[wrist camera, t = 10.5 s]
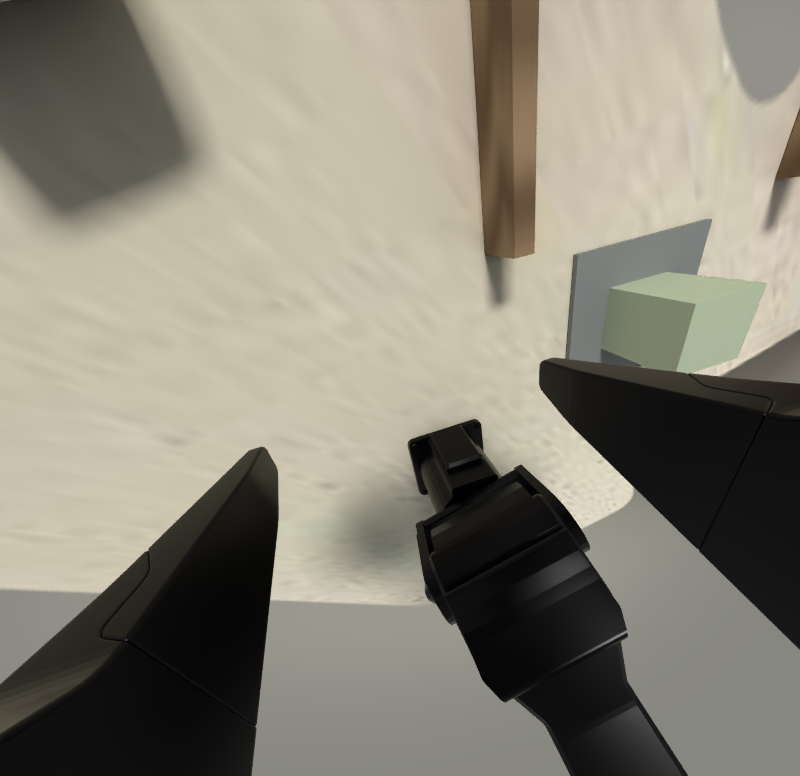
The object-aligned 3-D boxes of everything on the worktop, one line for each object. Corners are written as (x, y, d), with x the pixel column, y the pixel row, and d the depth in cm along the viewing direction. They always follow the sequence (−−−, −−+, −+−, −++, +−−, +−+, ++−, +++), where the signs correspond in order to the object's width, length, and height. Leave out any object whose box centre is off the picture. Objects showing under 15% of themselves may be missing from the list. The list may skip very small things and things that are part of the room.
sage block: (652, 332, 25) (737, 358, 20) (600, 348, 25) (674, 378, 20) (666, 271, 23) (767, 282, 18) (609, 288, 22) (695, 304, 17)
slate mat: (670, 353, 28) (674, 354, 27) (563, 386, 26) (566, 388, 26) (706, 219, 22) (712, 218, 22) (574, 254, 21) (578, 255, 21)
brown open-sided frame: (788, 175, 22) (863, 166, 19) (485, 254, 20) (514, 258, 17) (966, -309, 13) (1157, -469, 10) (454, -276, 11) (506, -474, 8)
